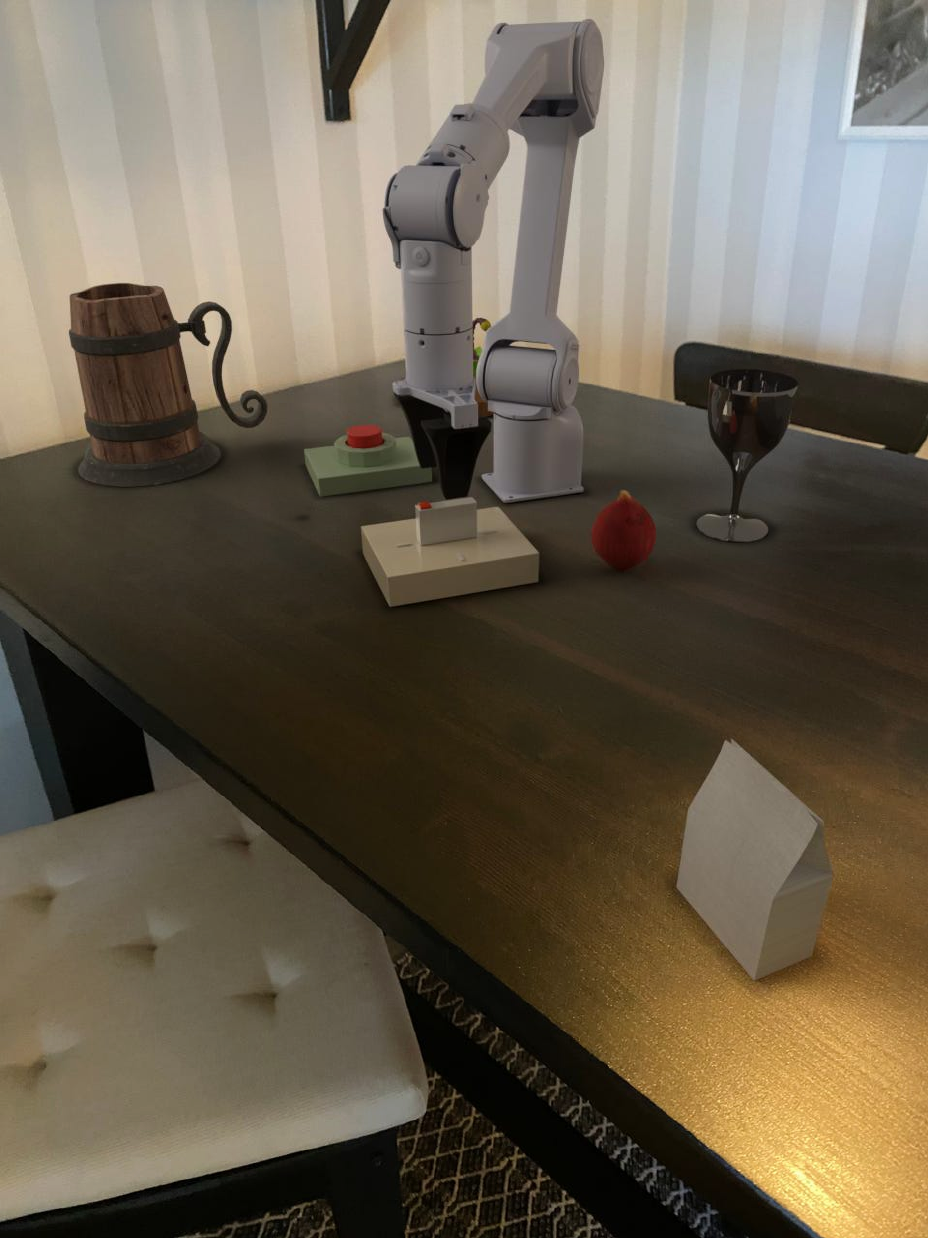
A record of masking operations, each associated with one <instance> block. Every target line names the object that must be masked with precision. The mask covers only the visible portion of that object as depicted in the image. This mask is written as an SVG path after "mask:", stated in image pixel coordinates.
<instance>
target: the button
mask: <svg viewBox="0 0 928 1238" xmlns="http://www.w3.org/2000/svg"><path fill="white" fill-rule="evenodd" d="M382 433H383V429H382V427H380V426H377V425H373V424H359V425H354V426H352V427H349V428H348V429H347V430H346V435H347V439H348V446H350V447H353V448H361V449H366V448H374V447H377V446H380V445H382V444H383V440H382Z"/></svg>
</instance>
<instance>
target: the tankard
mask: <svg viewBox="0 0 928 1238" xmlns="http://www.w3.org/2000/svg"><path fill="white" fill-rule="evenodd" d="M210 312H218V314H219V315H220V319H221V327H220V328H221V329H220V334H219V338H218V340H217V343H216V345H215V348H214V351H213V356H212V361H211V376H212V384H213V387H214V391H215V395H216V398H217V400H218V402H219V405H220V406H221V408H222V410H223V411H224V413H225V414H226V415H227V417H228V418H229V419H230V420H231V422H233V423H234V424H236V425H237V426H238V427H241V428H245V429H253V428H256V427H258V426H259V425H261V424H262V422H263V421H265V418H266V416H267V414H268V403H267V400H266V398H265V397H264V396H263V395H261V393H260V392H258V391H257V390H253V389H249V390H245V391H244V392H242V393H241V395H240V399H239V400H240V401H239V402H240V405H241V408H242V409H243V410H244V411H245V412H246V413H247V414H252V413H253V414H252V415H250V416H249V417H242V416H238V415H237V414H236V413H235V412H234V410H233V409H232V408H231V406H230V403H229V401H228V399H227V396H226V392H225V389H224V382H223V381H224V380H223V366H224V365H223V364H224V360H225V357H226V354H227V351H228V348H229V345H230V343H231V338H232V333H233V321H232V318H231V316H230V313H229V312H228V311H227V310H226V309H225V307H223V306H222V305H221V304H219V303H217V302H214V301H203V302H201V303H200V304H198V305H196V306H195V307H194V309H192V311H191V312H190V315H189V317H188V318H187V322H178V320H176V319H175V317H174V315H173V311H172V309H171V306H170V304H169V300H168V298H167V294H166V292H165V289H164V288H163V287H161V286H159V285H143V284H139V283H138V284H137V283H131V282H113V283H105V284H98V285H93V286H91V287H88V288H86V289H83V290H81V291H77V292H73V293H71V294H69V314H70V316H69V317H70V329H69V330H68V337H69V342H70V347H71V348H72V350H73V351H74V355H75V362H76V367H77V373H78V378H79V382H80V383H79V384H80V389H81V393H82V398H83V404H84V409H85V412H84V413H83V418H84V424H85V429H86V432H87V434H89V439H90V444H91V445H89V447H88V448H87V449H86V451H85V452H84V457H83V460H82V461H81V462H80V464H79V466H78V468H77V470H78V475H80V477H81V478H83V479H84V480H85V481H88V482H91V483H93V484H97V485H101V486H108V487H124V488H125V487H127V488H129V487H130V488H131V487H147V486H157V485H162V484H163V485H164V484H167V483H172V482H178V481H181V480H184V479H187V478H190V477H193V476H195V475H198V474H200V473H203V472H204V471H206V470H208V469H211V468H212V467H213V466H214V465H216V464H217V463H218V461H219V460H220V458H221V455H222V453H221V450H220V448H219V447H218V446H217V445H215V444H214V443H213V442H212V441H211V440H210V438H209V437H208V436H207V435H206V434H205V433H204V432H202V431H200V428H199V424H198V423H199V421H198V420H199V413H198V409H197V408H198V407H197V404H196V401H195V400H194V399H193V398H192V393H191V387H190V382H189V378H188V374H187V369H186V364H185V360H184V355H183V350H182V345H181V340H180V339H181V333H186V332H190V333H191V334H192V335H193V337H194V339H196V341H198V342H199V343H200V344H201V345H202V346H205V347H209V346H210V345H211V341H210V340H209V338H207V335H206V334H207V329H206V323H205V320H204V317H205V316H206V314H208V313H210ZM252 400H255V401H257V408H256V410H255V408H254V407H253V406H250V407H248V403H249V402H250V401H252ZM254 410H255V412H254Z"/></svg>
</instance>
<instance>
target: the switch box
mask: <svg viewBox="0 0 928 1238" xmlns="http://www.w3.org/2000/svg"><path fill="white" fill-rule="evenodd" d="M477 510H478V502H477V501H476V499H474V497H473V496H471V497H462V498H455V499H448V500H441V501H434V502H429V501H422V502H421V501H420V502H417V504H415V506H414V512H415V519H416V534H417V541H418V542H419V544H420V545H421V546H422V545H429V544H435V543H441V542H448V541H454V540H461V539H467V538H473V537H477Z"/></svg>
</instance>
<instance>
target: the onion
mask: <svg viewBox="0 0 928 1238" xmlns="http://www.w3.org/2000/svg"><path fill="white" fill-rule="evenodd" d="M590 539H591V545H592V547H593V549H594V551H595V554H596V555H597V556H598V557H599V558H600V559H601V560H602V561H603V562H604V563H605V564H607V566H609V567H610V568H611V569H612V570H613V571H615V572H617V573H623V572H625V571H628V570H631V569H632V568H635V567H637V566H639V565H640V564H642V563H643V562H645V561H646V560H648V558H649V557H650V555H651V554H652V552H653V550H654V548H655V545H656V540H657V527H656V523H655V521H654V519H653V516H652V515H651V514H650V512H649V511H648V510H647V509H646V508H645V507H644V505H642V504H641V503H640V502H639V501H637V500H635V498H634V497H632V496H631V495H630V492H629V491H627V490H625V489H621V490H620V491H619V495H618V498H617V499H616V500H613V501H612V502H610V503H608V505H606V506H605V507H603V508H602V509H601V510H600V512H599V513H598V514H597V516H596V517H595V520H594V521H593V524H592V526H591V531H590Z"/></svg>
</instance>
